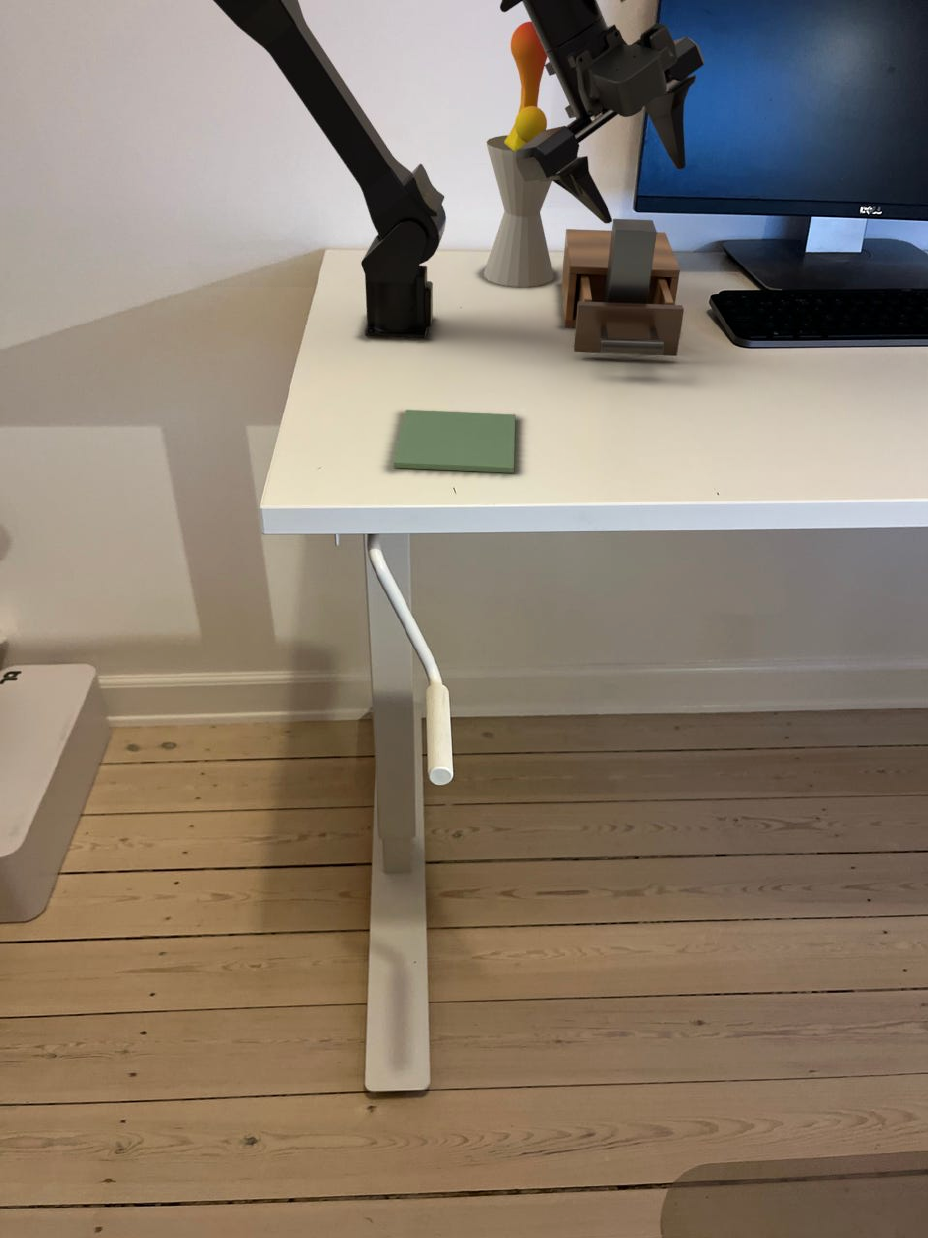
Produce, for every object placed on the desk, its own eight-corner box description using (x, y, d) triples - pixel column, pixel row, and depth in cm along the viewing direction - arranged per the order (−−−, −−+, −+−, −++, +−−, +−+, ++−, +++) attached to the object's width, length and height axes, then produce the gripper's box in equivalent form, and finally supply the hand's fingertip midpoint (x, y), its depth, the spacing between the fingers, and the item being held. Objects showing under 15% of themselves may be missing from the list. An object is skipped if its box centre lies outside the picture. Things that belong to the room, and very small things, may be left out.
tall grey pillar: (604, 329, 100) (615, 229, 93) (602, 315, 103) (612, 218, 97) (643, 331, 99) (657, 231, 93) (639, 317, 103) (652, 219, 96)
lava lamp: (474, 265, 121) (483, -76, 100) (542, 261, 123) (565, -75, 102) (493, 289, 114) (507, -72, 93) (565, 284, 116) (595, -71, 95)
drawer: (682, 374, 94) (690, 326, 91) (575, 370, 94) (580, 322, 91) (663, 311, 107) (669, 268, 104) (569, 308, 107) (573, 264, 104)
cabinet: (670, 330, 105) (680, 269, 101) (564, 326, 105) (569, 265, 101) (657, 288, 116) (665, 232, 112) (561, 285, 116) (566, 228, 112)
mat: (393, 467, 80) (393, 462, 79) (405, 414, 88) (405, 409, 87) (513, 473, 79) (514, 467, 79) (515, 419, 87) (515, 414, 87)
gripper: (529, 80, 78) (611, 251, 86) (705, -48, 80) (770, 132, 87) (479, 97, 88) (557, 250, 96) (636, -17, 89) (700, 143, 97)
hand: (645, 195), depth 94 cm, fingers open, 9 cm apart
